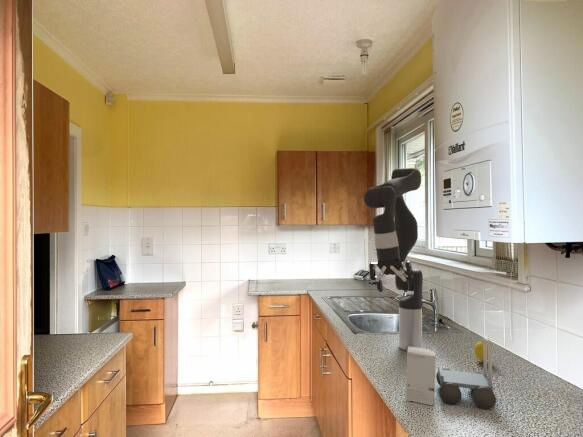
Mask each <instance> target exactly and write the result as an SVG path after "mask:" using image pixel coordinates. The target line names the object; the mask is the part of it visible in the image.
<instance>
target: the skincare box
mask: <svg viewBox="0 0 583 437" xmlns="http://www.w3.org/2000/svg"><path fill="white" fill-rule="evenodd" d="M436 353H437V351H436V350H434V349H428V348H424V347H422V348H417V347H408V351H407V353H406V373H405V374H406V375H405V401H407V402H411V401H413V402H412V403H417V402H418V404H424V405H428V406H434V405H435V389H436V388H435V384H436V382H435V381H436V360H437V358H436V355H437V354H436Z"/></svg>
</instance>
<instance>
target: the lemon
mask: <svg viewBox="0 0 583 437" xmlns="http://www.w3.org/2000/svg"><path fill="white" fill-rule="evenodd" d="M474 355H475V357H476V358H477V359H478V360H479V361H481V363H483V340H481V341H479V342H476V344H475V346H474ZM487 361H488V343H487Z"/></svg>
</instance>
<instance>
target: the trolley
mask: <svg viewBox="0 0 583 437" xmlns="http://www.w3.org/2000/svg"><path fill="white" fill-rule="evenodd" d="M482 337H483V340H482V341H483V362H482V363H483V364H482V365H483V373H482V372H480V371H471V372H468V371H457V370H453V369H451V368H447V367H444V368H443V367H442V364H438V365H437V366H438V367H437V369H438V370H437V372H436V373H435V380H436V382H437V384H438V385H439V389H438V393H439V397H440V399H441V400H442V402H443V403H445V404H447V405H450V406H455V405H457V404H459V403H460V402H461V400H462V398H463V397H462V391H461V389H469V390H471V391H472V392H471V398H472V400H473V403H474V404H475V406H476V407H478V408H479V409H482V410H491V409H492V408H494V407H495V405H496V403H497V397H496V395H495V393H494V392H493V391H494V386H493V343H492V342H491V341H490V339H489V338H488V336H487V335H483V336H482ZM487 344H488V360H487ZM460 388H461V389H460Z"/></svg>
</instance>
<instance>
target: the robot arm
mask: <svg viewBox="0 0 583 437" xmlns="http://www.w3.org/2000/svg"><path fill="white" fill-rule="evenodd" d="M390 176H391V177H390V178H391V179H389V180H387V181H385V182H383V183H382V184H379V185H375V186H372V187H370V188H367V189H366V191H365V193H364V195H363V202H364V204H365V206H366V207H368V208H370V209H371V210H372V209H373V210H374V209H383V208H384V211H383V213H381V214H378V215H375V216H373V218H372V224H373V225H372V226H373V232H374V246H375V250H376V252H375V253H376V258H377V262H374V261H371V262H370V263H369V264H368V266H369V278H370V279H369V280H370V281H375V282H376V290H377V291H379V293H383V292H384V286H383V280H382V278H383V277H384V275H385V276H390V275H391V276H394V280H395V281H394V282H395V283H394V284H395V287H396V289H397V290H399V291H403V292H404V293H408V292H413V294H411V295H410V296H406V297H403V298H402V297H401V298H400V299H399V301H398V346H399V349H401V350H403V351H408V347H417V348H423V285H424V284H423V283H424V281H423V280H424V278H423V272H422V270H421V269H418V268H416V269H415V268H413V267H412V262H411V260H406V259H407V258H408V255H409V253H410V252H411V250H413V249H414V247H415V245H416V243H417V241H418V238H419V236H418V234H419V232H418V221H417V220H416V217H415V215H414V214H413V213H412V211H411V210H410V209H409V206H408V205H407V203H406V202H405V198H404V195H405V194H407V193H409V192H412V191H417V190H418V189H419V188H420V187H421V185H422V174H421V171H420V170H419V169H418V168H415V167H405V168H403V167H402V168H395V169H393V170H392V172H391V175H390ZM376 268H378V269H379V270H380V271H379V273H378V275H376Z"/></svg>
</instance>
